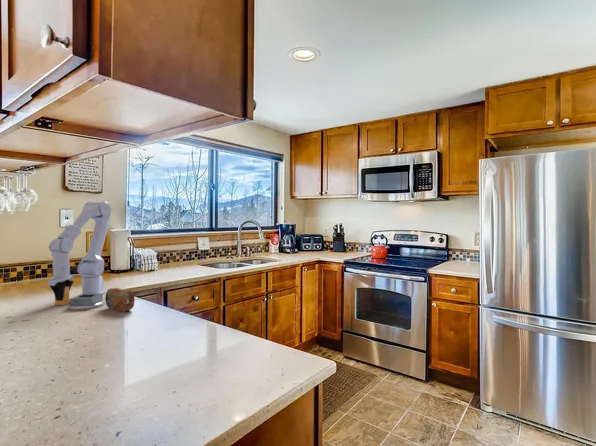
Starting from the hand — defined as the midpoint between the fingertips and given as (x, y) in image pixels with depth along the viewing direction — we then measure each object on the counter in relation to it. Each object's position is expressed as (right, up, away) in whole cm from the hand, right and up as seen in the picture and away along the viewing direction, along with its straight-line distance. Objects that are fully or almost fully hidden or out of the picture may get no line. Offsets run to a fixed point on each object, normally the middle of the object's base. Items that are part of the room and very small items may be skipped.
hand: (62, 299), depth 141 cm
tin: (+29, -2, -9) cm, 31 cm away
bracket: (+12, -2, -3) cm, 13 cm away
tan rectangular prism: (0, -2, 0) cm, 2 cm away
